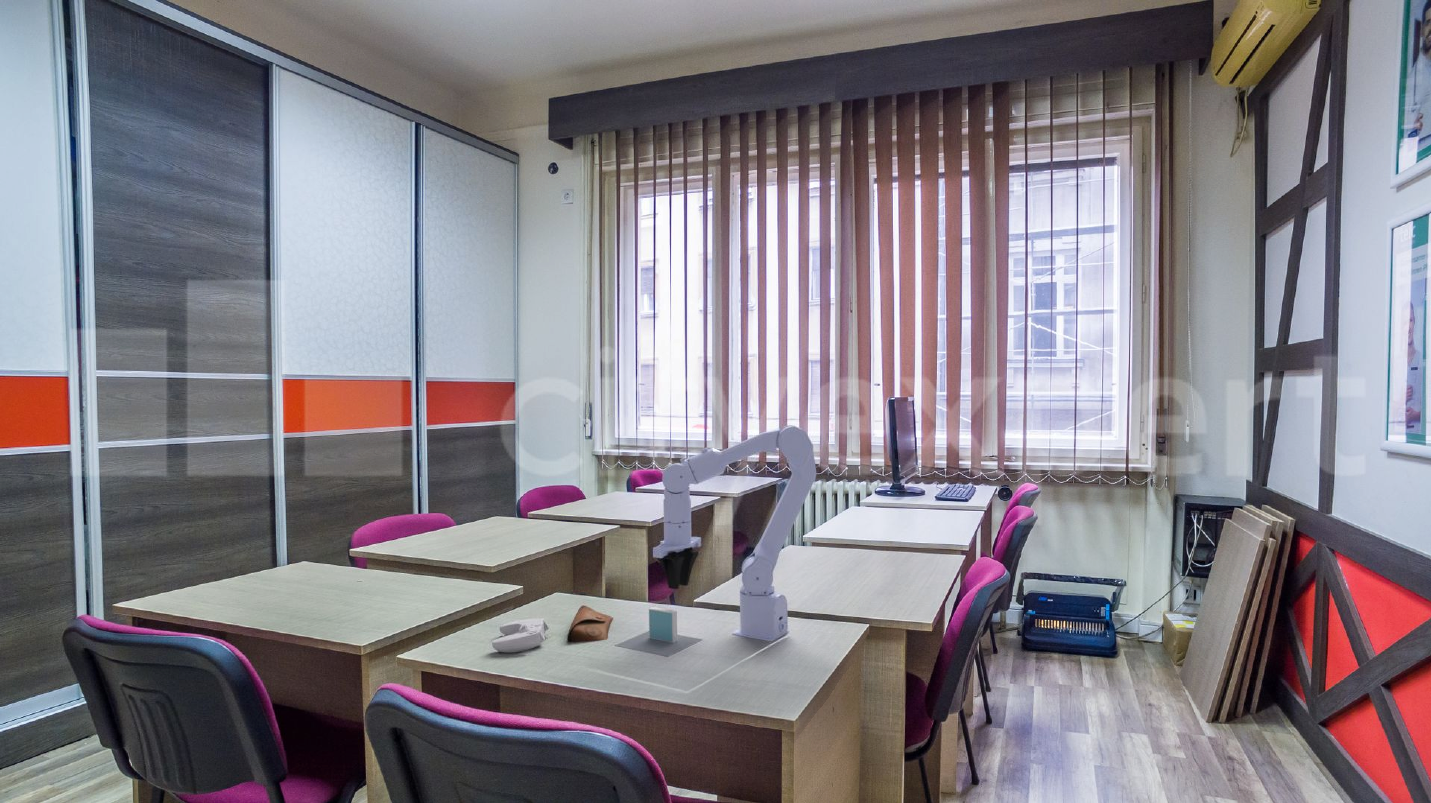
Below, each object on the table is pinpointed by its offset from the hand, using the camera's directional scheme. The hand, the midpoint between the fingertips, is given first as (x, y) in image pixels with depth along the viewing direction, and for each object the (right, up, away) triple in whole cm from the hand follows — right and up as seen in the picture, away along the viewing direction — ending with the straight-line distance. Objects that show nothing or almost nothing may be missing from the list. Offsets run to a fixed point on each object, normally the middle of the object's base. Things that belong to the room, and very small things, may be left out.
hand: (678, 586), depth 160 cm
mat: (-4, -10, -7) cm, 12 cm away
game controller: (-32, -11, -4) cm, 34 cm away
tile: (-3, -10, -5) cm, 11 cm away
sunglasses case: (-19, -11, +3) cm, 22 cm away
